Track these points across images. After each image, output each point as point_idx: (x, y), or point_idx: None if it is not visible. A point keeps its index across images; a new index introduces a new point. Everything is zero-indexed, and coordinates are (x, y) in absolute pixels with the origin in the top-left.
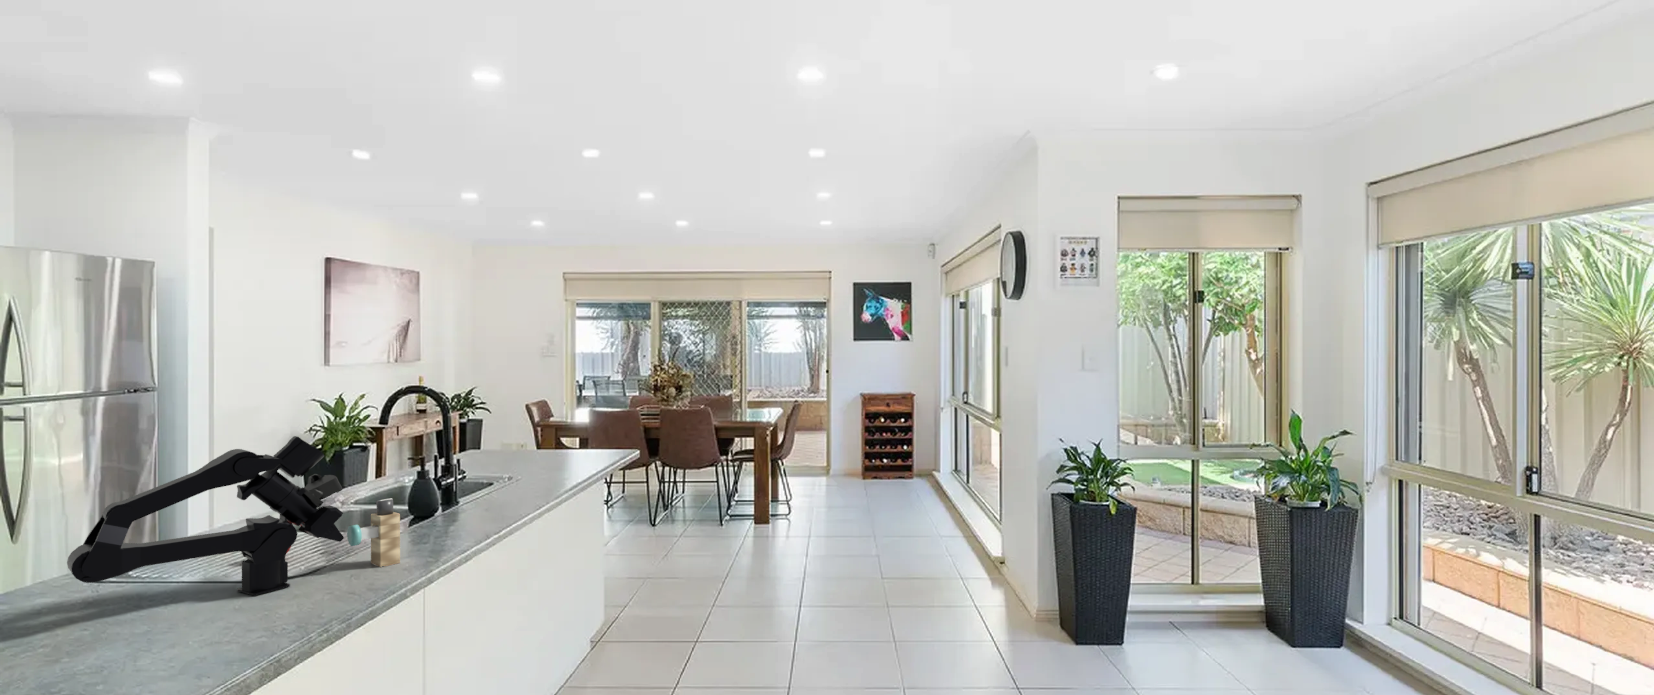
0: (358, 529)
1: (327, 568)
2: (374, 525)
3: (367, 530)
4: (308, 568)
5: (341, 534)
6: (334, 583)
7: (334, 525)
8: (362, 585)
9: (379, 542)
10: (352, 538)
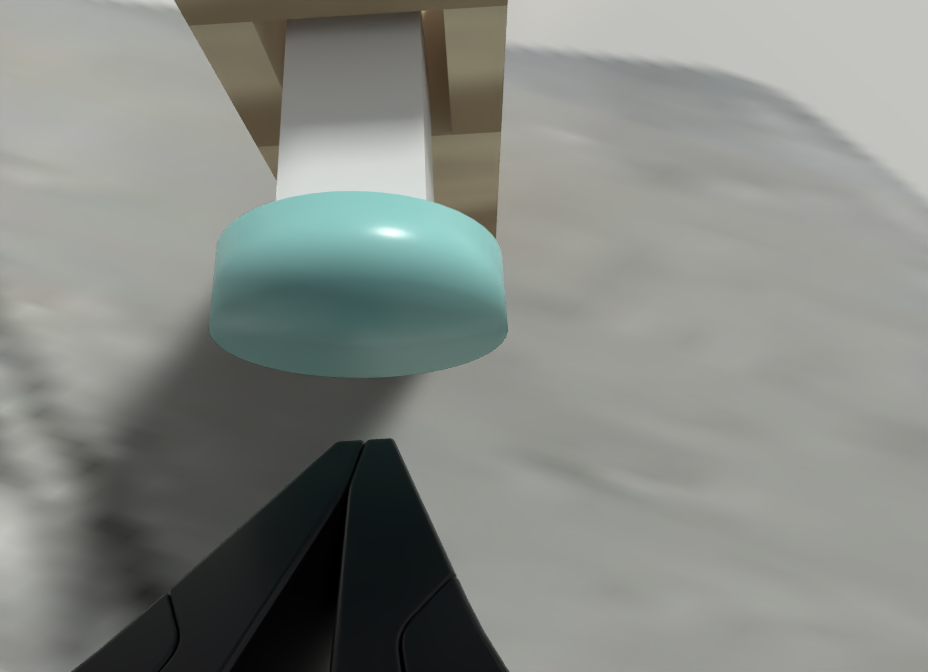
0: (463, 239)
1: (187, 534)
2: (262, 29)
3: (423, 150)
4: (43, 648)
5: (407, 471)
6: (702, 641)
7: (481, 636)
8: (914, 502)
9: (474, 153)
10: (412, 346)
